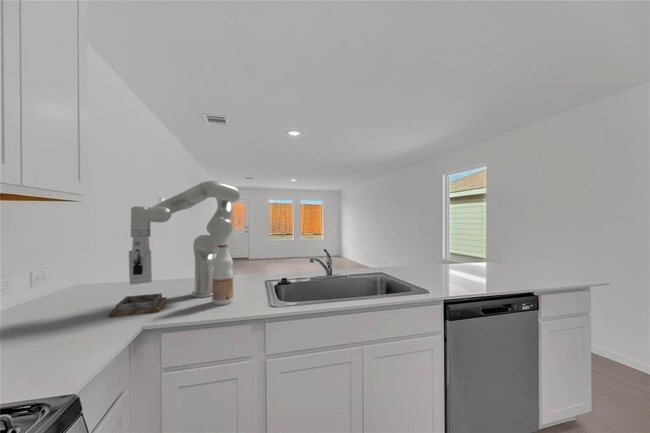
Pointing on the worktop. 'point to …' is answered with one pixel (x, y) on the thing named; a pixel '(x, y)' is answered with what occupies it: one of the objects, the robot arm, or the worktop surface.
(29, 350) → the worktop surface
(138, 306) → the tray
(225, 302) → the fruit juice
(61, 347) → the worktop surface
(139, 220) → the robot arm
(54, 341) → the worktop surface
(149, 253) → the skincare box
